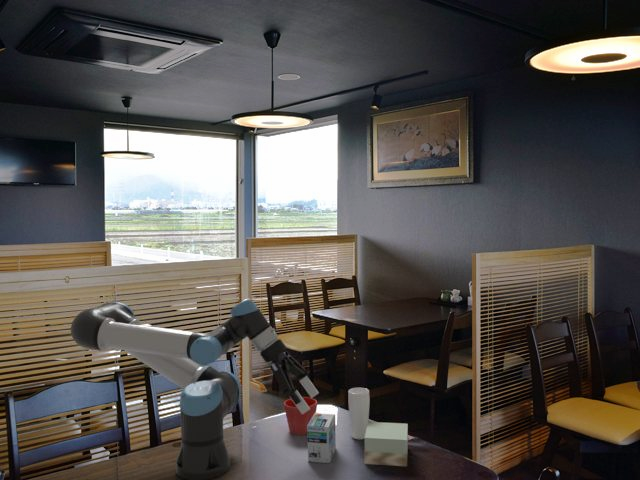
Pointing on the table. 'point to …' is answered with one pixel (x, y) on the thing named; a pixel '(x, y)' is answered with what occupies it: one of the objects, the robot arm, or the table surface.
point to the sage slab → (386, 437)
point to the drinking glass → (358, 411)
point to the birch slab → (385, 458)
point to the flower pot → (299, 415)
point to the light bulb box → (321, 438)
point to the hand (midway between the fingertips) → (311, 403)
